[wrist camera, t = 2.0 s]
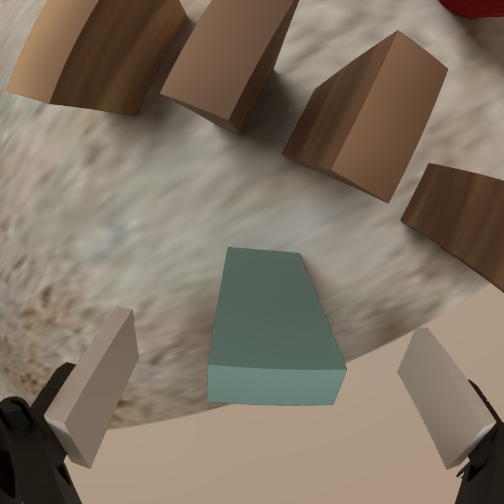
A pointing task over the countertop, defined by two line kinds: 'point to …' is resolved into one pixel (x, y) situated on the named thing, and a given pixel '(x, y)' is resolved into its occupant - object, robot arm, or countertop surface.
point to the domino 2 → (271, 335)
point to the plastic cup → (475, 8)
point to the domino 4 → (462, 217)
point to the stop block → (96, 52)
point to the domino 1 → (229, 59)
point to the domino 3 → (370, 116)
